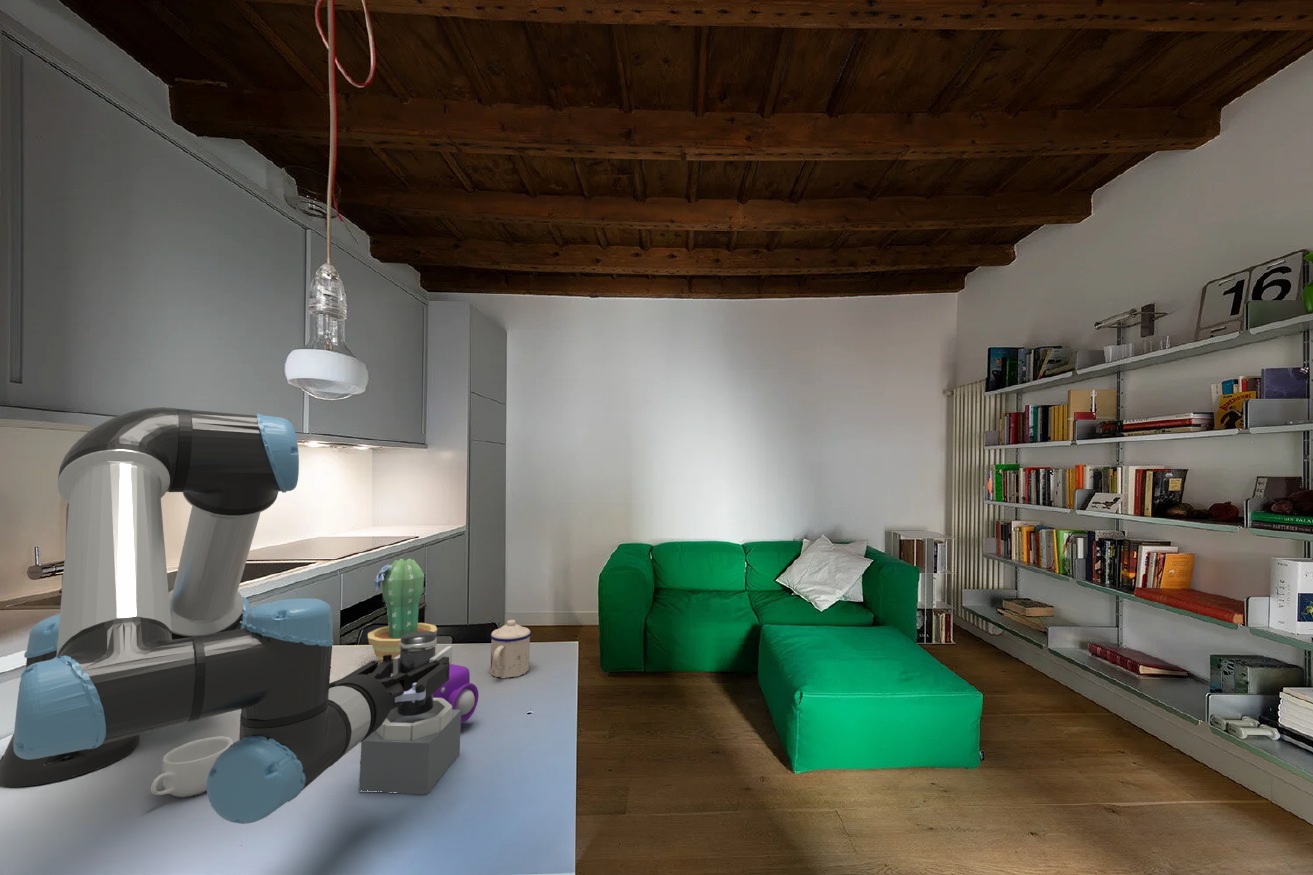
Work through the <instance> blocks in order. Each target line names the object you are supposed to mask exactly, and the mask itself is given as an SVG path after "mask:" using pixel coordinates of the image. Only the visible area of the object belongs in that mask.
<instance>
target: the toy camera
mask: <svg viewBox="0 0 1313 875" xmlns="http://www.w3.org/2000/svg"><path fill="white" fill-rule="evenodd" d="M470 680H471V678H470V670H469V668H468V667H466V666H462V665H459V664H452V663H451V664H450V669H449V680H448V681H447V682H446V683H445V684H443V685H442V686H441V687H440V688H439V689H437V690H436V691H435V692H434V696H433V698H443V699H445V700H446V701H447V702H448V703H450V704H451V705H452V710H461V724H462V723H465V722H467V721H468V720H469V719H470V718H471V717H472V715H473V713H474V712H475V711H476V709H477V706H478V702H479V689H478V687H477V685H475V684H474V683H473V682H472V683H471V681H470Z"/></svg>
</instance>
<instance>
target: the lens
mask: <svg viewBox="0 0 1313 875" xmlns="http://www.w3.org/2000/svg"><path fill="white" fill-rule="evenodd" d="M437 638H438V637H437V633H435V632H432V631H417V632H411V633H407V634H404V635H402V636H401V641H400V644H399V649H400V667H399V673H403V674H406V673H408V672H411V671H413V670H415V669H417V668H419V667H421V666H424V665H426V664H428V663H429V659H430V658H432V657H434V656H435V655H436V647H437V643H438V642H437V640H438V639H437ZM433 696H434V693H433V694H431V695H430V696H429V697H428V698H427V699H426V701H425V704H424V705H422V706H415V703H412V701H403V703H402V705H401V706H399V707H398V711H397V712H398V714H400V715H404V716H413V715H419V714H423V713H425V712H428V711H430V710H431V709H432V708H433Z"/></svg>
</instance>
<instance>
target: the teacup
mask: <svg viewBox="0 0 1313 875" xmlns="http://www.w3.org/2000/svg"><path fill="white" fill-rule="evenodd" d="M233 744H234V741H233V738H231V737H230V736H225V735H224V736H223V735H222V736H220V735H219V736H210V737H205V738H200V739H195V740H193V741H190V742H186V743H184V744H182V745H180V746H177V747H175V748H173V749H171V750H170V751H168V752H167V753H165V754H164V756H163V757H162V763H161V764H162V766H161V769H162V770H161V771H162V773H161V774H159V775H158V776H156V777H155V778H154V780H153V781H152V783H151V786H150V793H151V794H152V795H155V796H162V795H163V796H164V795H168V794H169V795H170V796H171V795H172V796H174V797H177V796H178V797H177V798H188V797H189V796H190V797H193V795H194V796H197V794H198V795H200V794H203V793H205V791H206V792H207V778H208V775H209V772H210V771H211V769H212V767H213V765H214V763H215V761H216V760H217V758H218V757H219V756H220V755H221V754H222V753H223V752H224V751H225V750H227V749H228V748H229V747H230V745H233ZM160 780H162V785H163V787H164V789H163V790H157V785H158V783H159V782H160ZM187 796H188V797H187Z"/></svg>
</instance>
